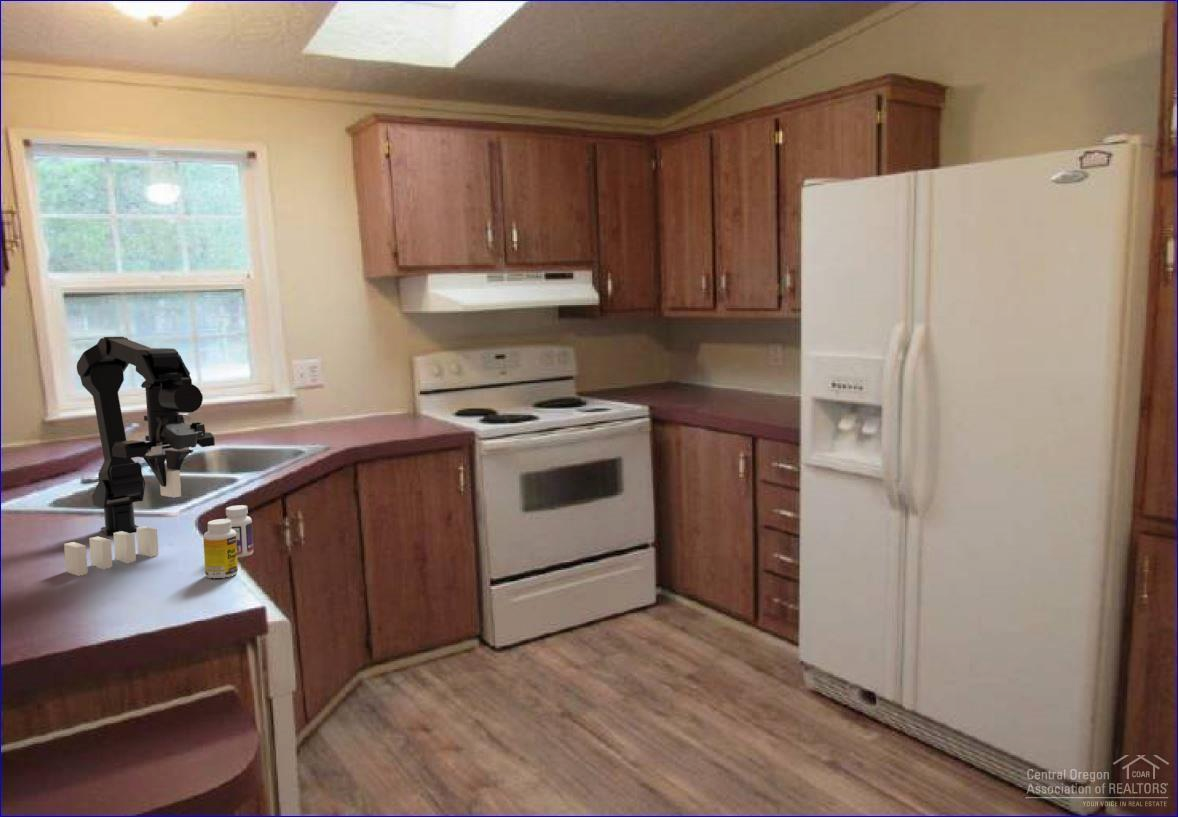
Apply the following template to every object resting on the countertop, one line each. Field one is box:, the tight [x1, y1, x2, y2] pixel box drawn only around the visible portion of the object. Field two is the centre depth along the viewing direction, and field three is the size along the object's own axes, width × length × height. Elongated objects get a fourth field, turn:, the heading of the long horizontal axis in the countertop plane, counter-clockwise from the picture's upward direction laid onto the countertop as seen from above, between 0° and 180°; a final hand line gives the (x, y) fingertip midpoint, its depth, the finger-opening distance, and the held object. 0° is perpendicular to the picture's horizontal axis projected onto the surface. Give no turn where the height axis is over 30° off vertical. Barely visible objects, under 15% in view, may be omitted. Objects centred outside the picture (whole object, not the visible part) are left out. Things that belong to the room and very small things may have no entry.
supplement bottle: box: [202, 518, 239, 580], centre depth 150 cm, size 6×6×10 cm
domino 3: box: [113, 531, 137, 564], centre depth 159 cm, size 2×5×5 cm, turn 58°
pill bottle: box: [225, 504, 254, 559], centre depth 162 cm, size 5×5×10 cm
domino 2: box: [89, 535, 113, 570], centre depth 155 cm, size 2×5×5 cm, turn 58°
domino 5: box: [159, 467, 182, 498], centre depth 166 cm, size 2×5×5 cm, turn 59°
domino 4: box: [135, 525, 160, 558], centre depth 162 cm, size 2×5×5 cm, turn 58°
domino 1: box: [63, 541, 89, 577], centre depth 151 cm, size 2×5×5 cm, turn 58°
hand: (168, 485), depth 166 cm, fingers closed on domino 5, 2 cm apart
